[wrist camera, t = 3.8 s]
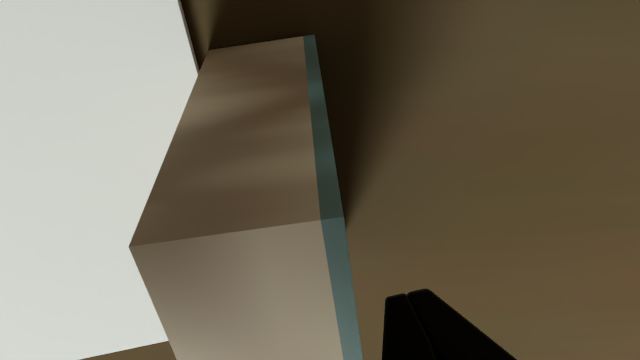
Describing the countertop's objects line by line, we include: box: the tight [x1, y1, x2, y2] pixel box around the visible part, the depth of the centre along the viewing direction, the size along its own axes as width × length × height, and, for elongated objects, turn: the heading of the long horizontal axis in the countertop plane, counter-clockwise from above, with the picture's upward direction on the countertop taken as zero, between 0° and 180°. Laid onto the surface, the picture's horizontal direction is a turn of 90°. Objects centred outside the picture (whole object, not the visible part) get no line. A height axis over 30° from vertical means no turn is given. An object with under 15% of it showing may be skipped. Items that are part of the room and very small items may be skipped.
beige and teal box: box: [129, 34, 363, 360], centre depth 12 cm, size 3×7×8 cm, turn 7°
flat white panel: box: [0, 0, 200, 360], centre depth 15 cm, size 10×12×1 cm
